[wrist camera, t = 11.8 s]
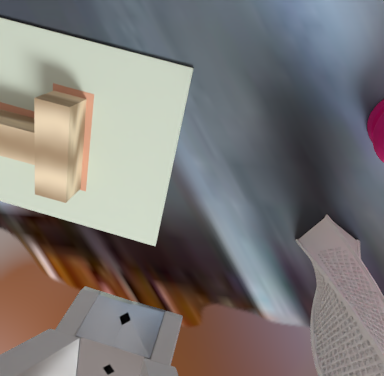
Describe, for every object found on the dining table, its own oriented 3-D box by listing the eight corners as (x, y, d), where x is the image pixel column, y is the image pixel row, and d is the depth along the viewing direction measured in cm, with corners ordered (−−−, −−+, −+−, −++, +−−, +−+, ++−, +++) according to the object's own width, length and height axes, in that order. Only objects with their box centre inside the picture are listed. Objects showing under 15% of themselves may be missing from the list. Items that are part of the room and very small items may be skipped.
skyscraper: (375, 242, 42) (538, 562, 18) (328, 276, 46) (409, 585, 21) (327, 203, 41) (430, 487, 16) (282, 241, 44) (312, 524, 20)
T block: (-11, 73, 41) (-36, 79, 37) (86, 99, 40) (69, 107, 37) (-5, 164, 47) (-27, 177, 43) (80, 188, 46) (65, 203, 42)
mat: (-26, 10, 38) (-28, 10, 38) (193, 68, 37) (193, 68, 37) (-13, 195, 50) (-15, 196, 49) (155, 244, 48) (155, 246, 48)
